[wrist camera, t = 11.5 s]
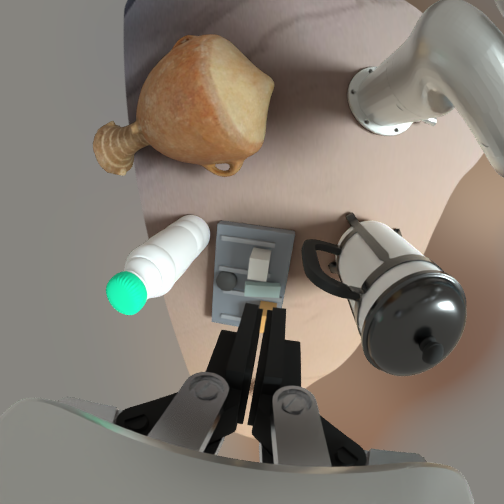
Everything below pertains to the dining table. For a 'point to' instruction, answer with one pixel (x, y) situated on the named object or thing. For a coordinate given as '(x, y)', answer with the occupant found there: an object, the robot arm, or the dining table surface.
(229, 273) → the panel
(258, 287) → the block
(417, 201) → the dining table surface
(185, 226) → the water bottle
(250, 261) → the ivory fader
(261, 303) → the orange fader
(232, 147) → the jug
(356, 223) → the coffee press
